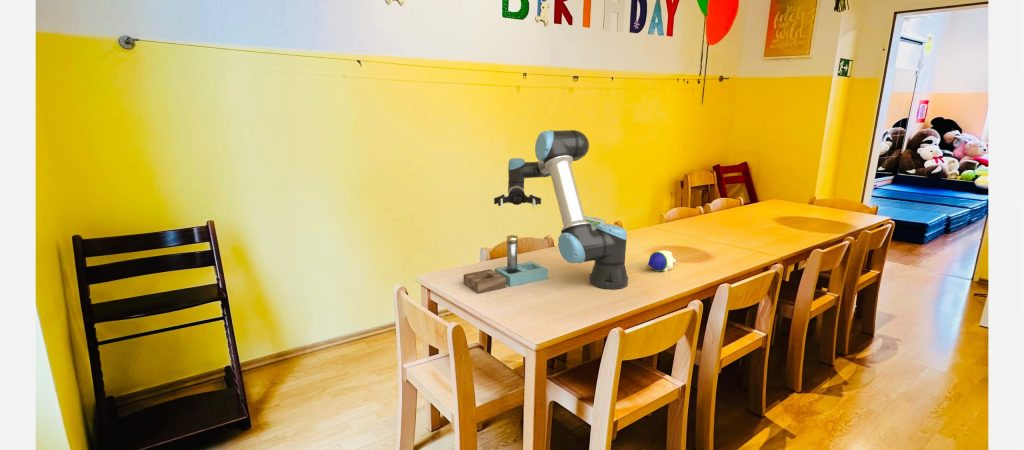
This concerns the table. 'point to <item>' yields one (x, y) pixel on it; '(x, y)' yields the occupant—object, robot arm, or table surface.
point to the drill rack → (524, 273)
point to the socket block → (484, 281)
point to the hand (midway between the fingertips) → (518, 204)
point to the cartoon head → (661, 260)
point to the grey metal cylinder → (512, 254)
